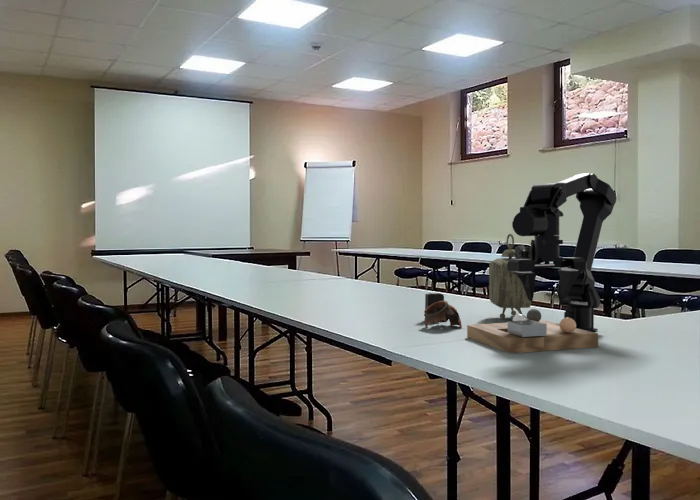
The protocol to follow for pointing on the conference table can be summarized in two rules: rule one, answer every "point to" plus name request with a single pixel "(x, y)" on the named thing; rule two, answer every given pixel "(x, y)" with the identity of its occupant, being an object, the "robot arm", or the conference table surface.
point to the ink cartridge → (433, 300)
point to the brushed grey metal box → (527, 328)
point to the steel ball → (519, 317)
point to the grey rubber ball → (534, 315)
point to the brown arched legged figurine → (442, 314)
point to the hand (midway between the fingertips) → (546, 300)
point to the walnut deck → (531, 338)
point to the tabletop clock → (506, 284)
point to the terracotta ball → (567, 325)
